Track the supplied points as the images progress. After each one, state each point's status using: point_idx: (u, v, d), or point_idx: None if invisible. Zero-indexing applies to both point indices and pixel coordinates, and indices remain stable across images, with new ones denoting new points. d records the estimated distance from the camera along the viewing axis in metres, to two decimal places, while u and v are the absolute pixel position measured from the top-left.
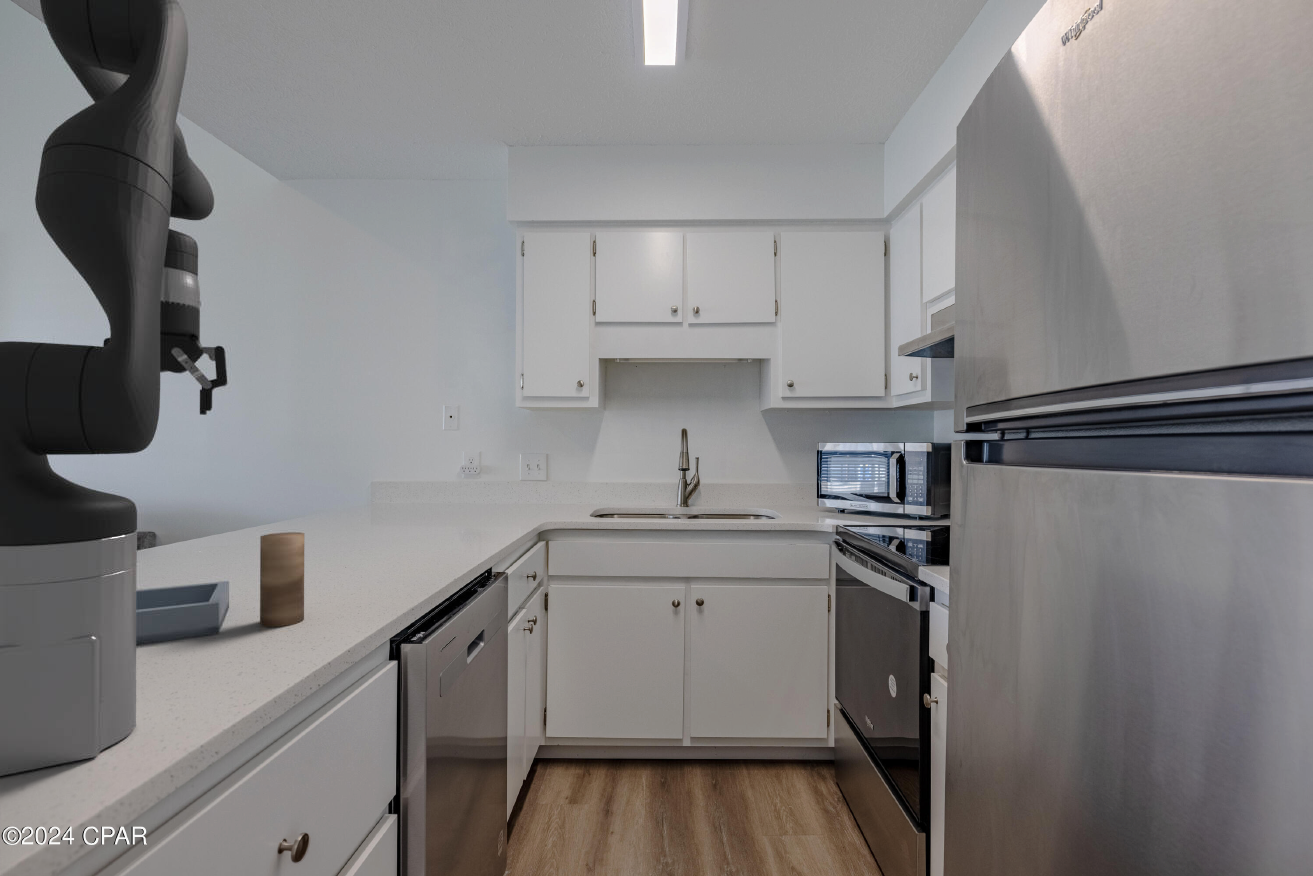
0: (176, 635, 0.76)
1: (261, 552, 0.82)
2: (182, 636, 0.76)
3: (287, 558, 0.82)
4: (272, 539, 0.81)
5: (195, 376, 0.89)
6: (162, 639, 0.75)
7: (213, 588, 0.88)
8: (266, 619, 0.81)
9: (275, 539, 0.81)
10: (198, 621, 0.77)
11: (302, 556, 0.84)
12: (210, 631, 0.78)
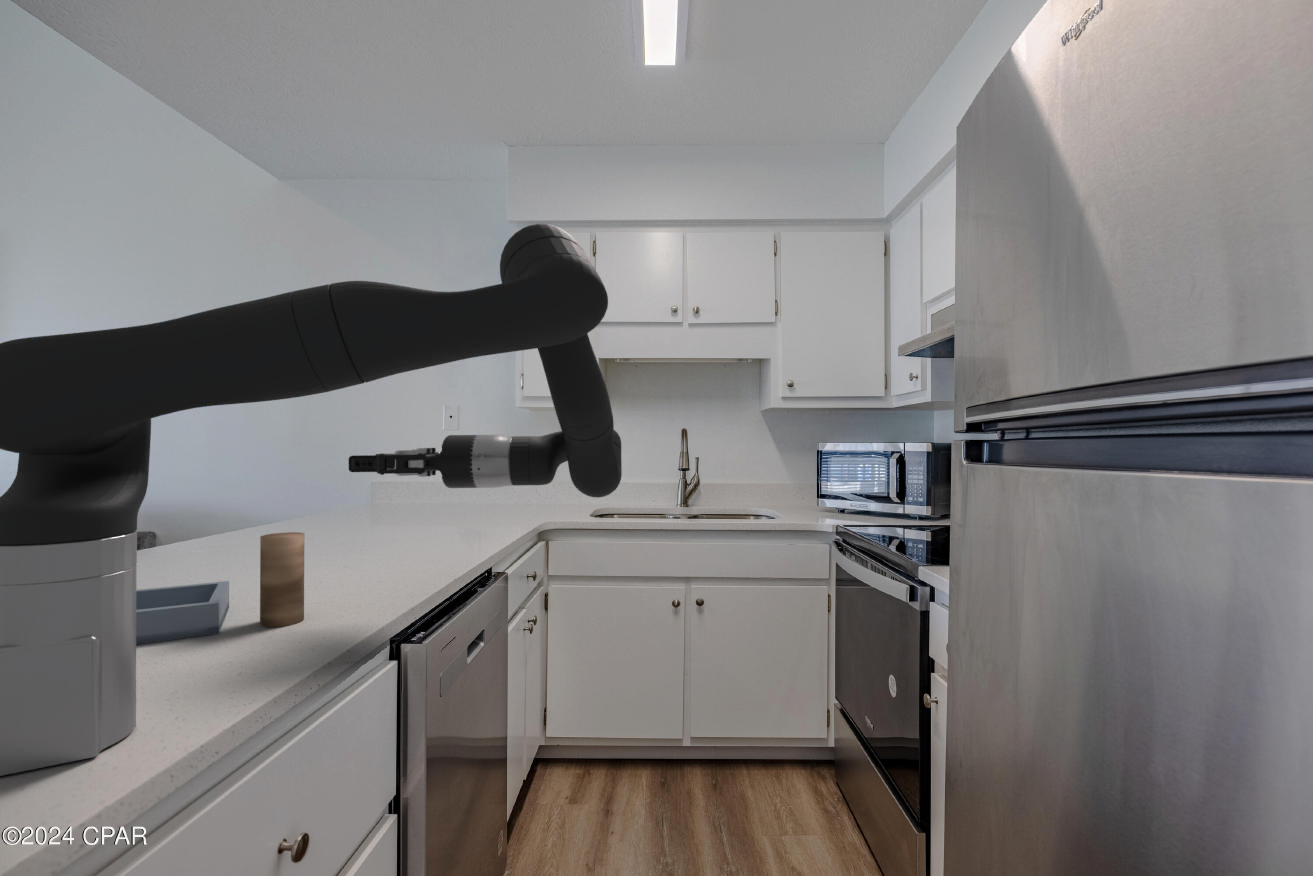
0: (176, 635, 0.76)
1: (261, 552, 0.82)
2: (182, 636, 0.76)
3: (287, 558, 0.82)
4: (272, 539, 0.81)
5: None
6: (162, 639, 0.75)
7: (213, 588, 0.88)
8: (266, 619, 0.81)
9: (275, 539, 0.81)
10: (198, 621, 0.77)
11: (302, 556, 0.84)
12: (210, 631, 0.78)
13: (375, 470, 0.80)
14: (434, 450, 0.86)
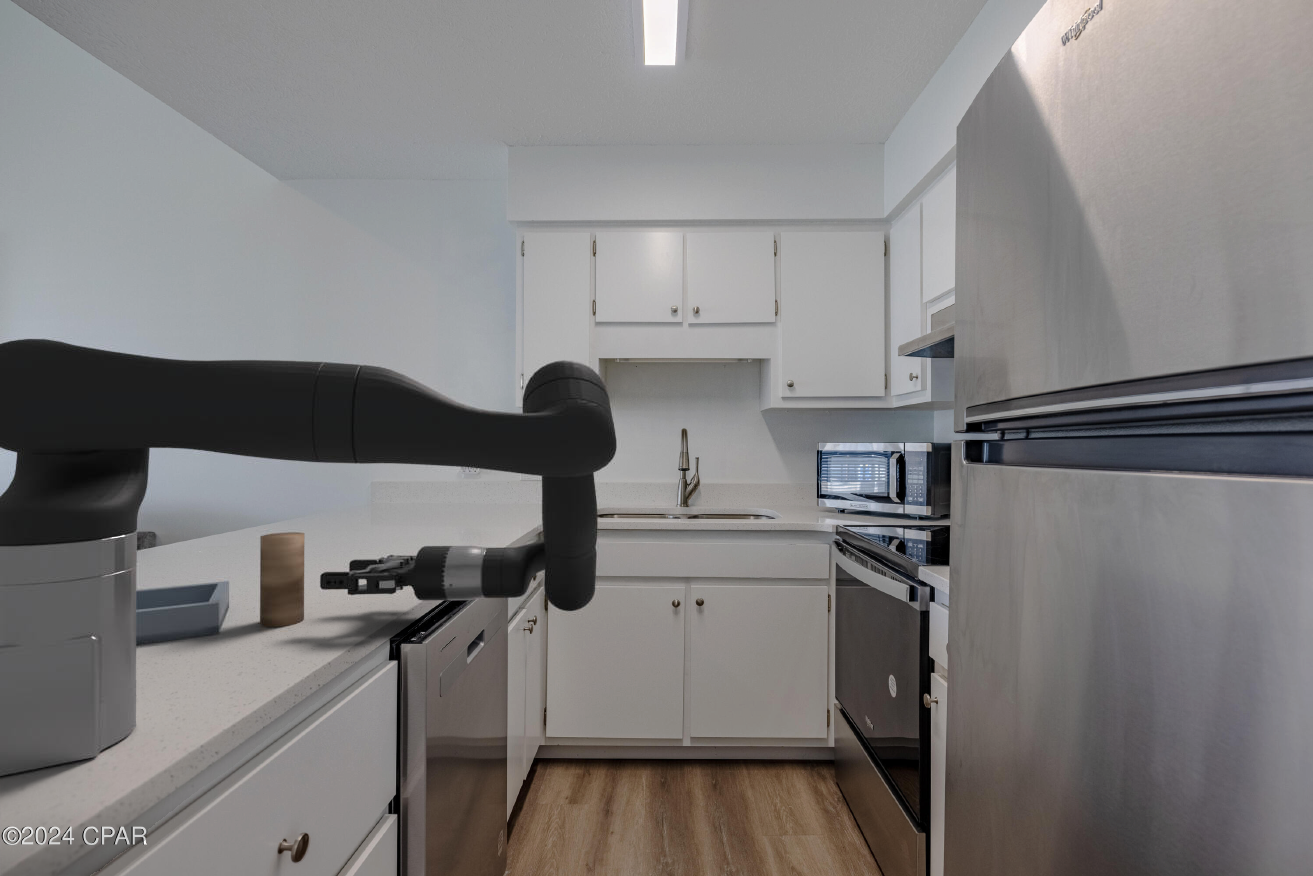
0: (176, 635, 0.76)
1: (261, 552, 0.82)
2: (182, 636, 0.76)
3: (287, 558, 0.82)
4: (272, 539, 0.81)
5: None
6: (162, 639, 0.75)
7: (213, 588, 0.88)
8: (266, 619, 0.81)
9: (275, 539, 0.81)
10: (198, 621, 0.77)
11: (302, 556, 0.84)
12: (210, 631, 0.78)
13: (346, 587, 0.80)
14: (408, 560, 0.86)
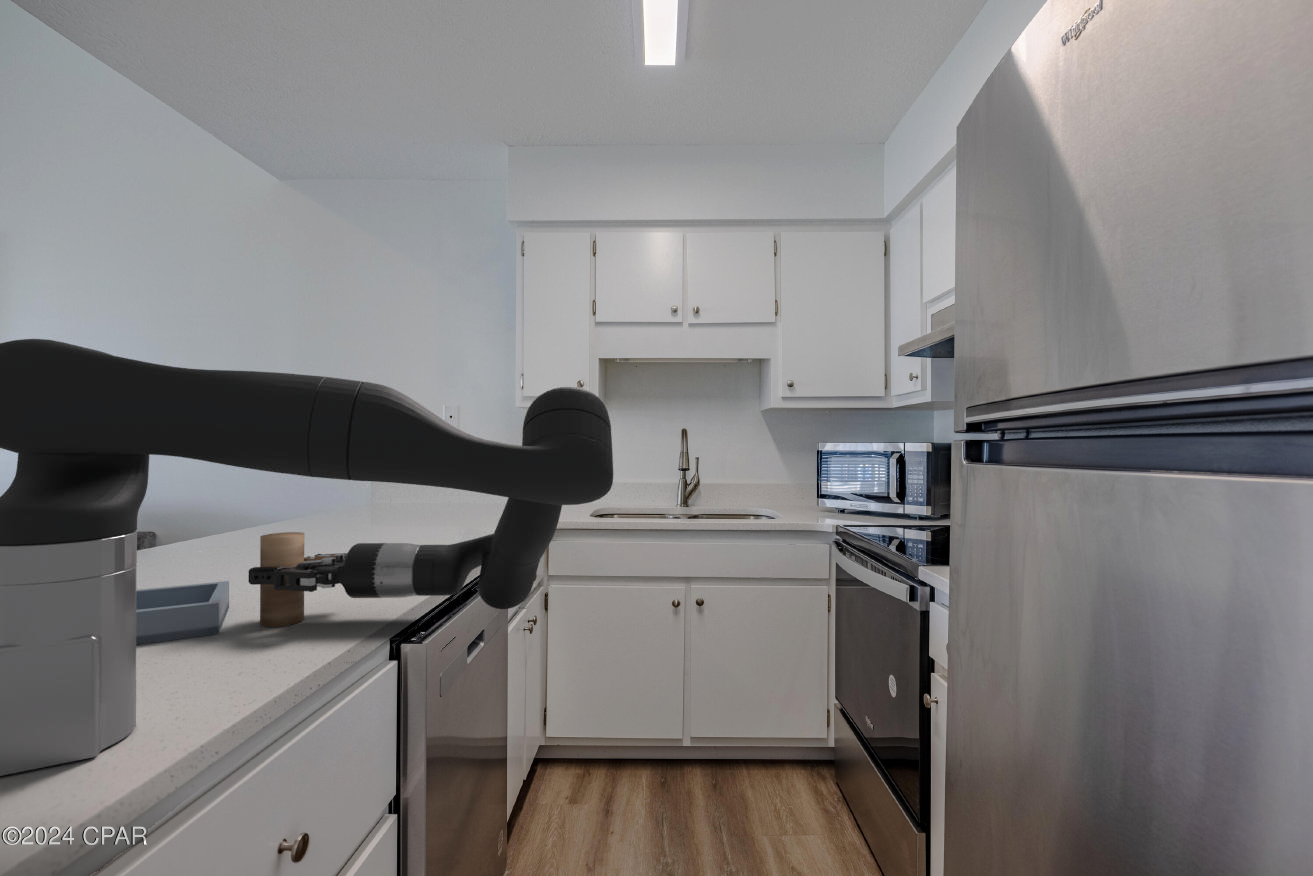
0: (176, 635, 0.76)
1: (261, 552, 0.82)
2: (182, 636, 0.76)
3: (287, 558, 0.82)
4: (272, 539, 0.81)
5: None
6: (162, 639, 0.75)
7: (213, 588, 0.88)
8: (266, 619, 0.81)
9: (275, 539, 0.81)
10: (198, 621, 0.77)
11: (302, 556, 0.84)
12: (210, 631, 0.78)
13: None
14: (343, 557, 0.85)
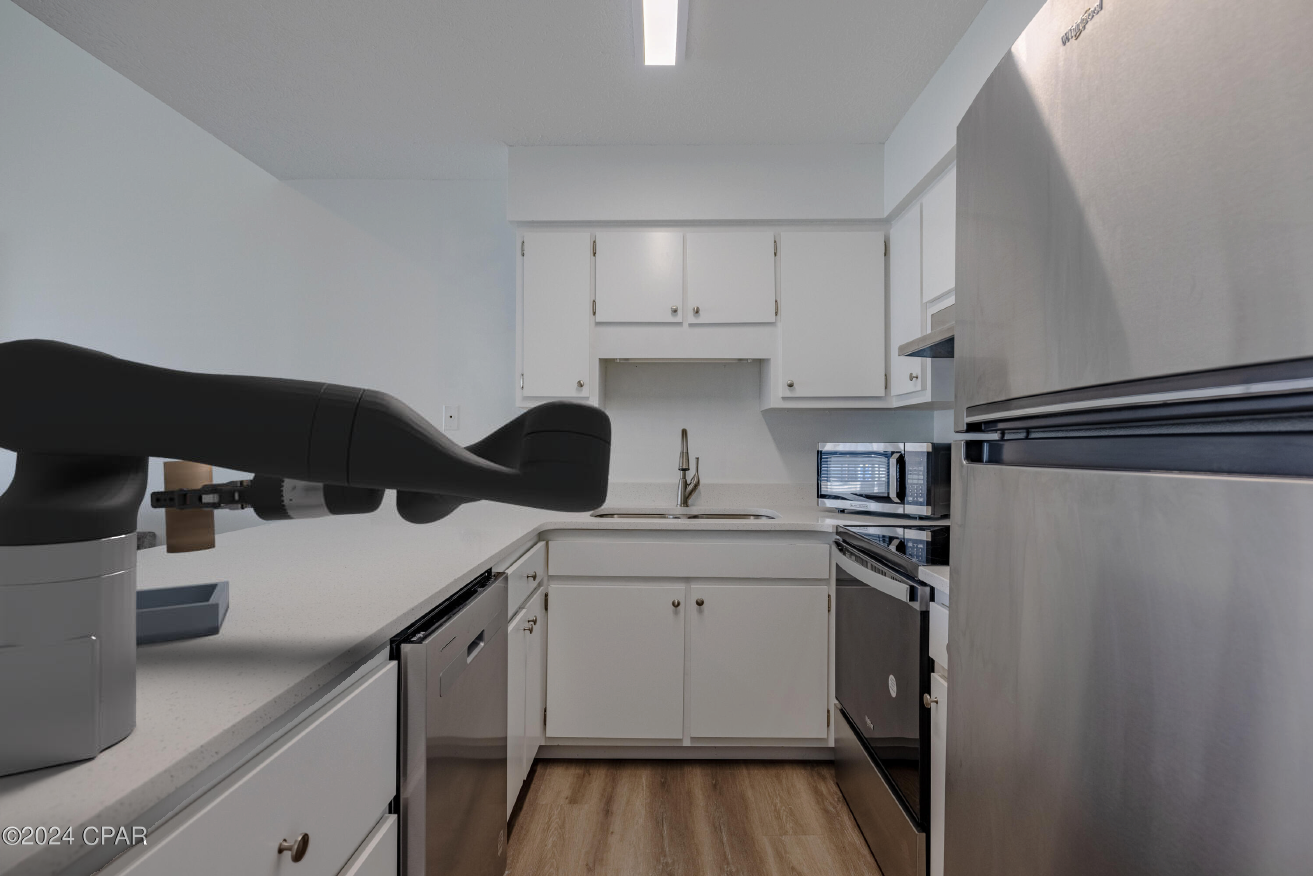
0: (176, 635, 0.76)
1: (164, 476, 0.79)
2: (182, 636, 0.76)
3: (192, 481, 0.79)
4: (175, 462, 0.79)
5: None
6: (162, 639, 0.75)
7: (213, 588, 0.88)
8: (172, 545, 0.78)
9: (178, 462, 0.79)
10: (198, 621, 0.77)
11: (210, 481, 0.82)
12: (210, 631, 0.78)
13: None
14: None
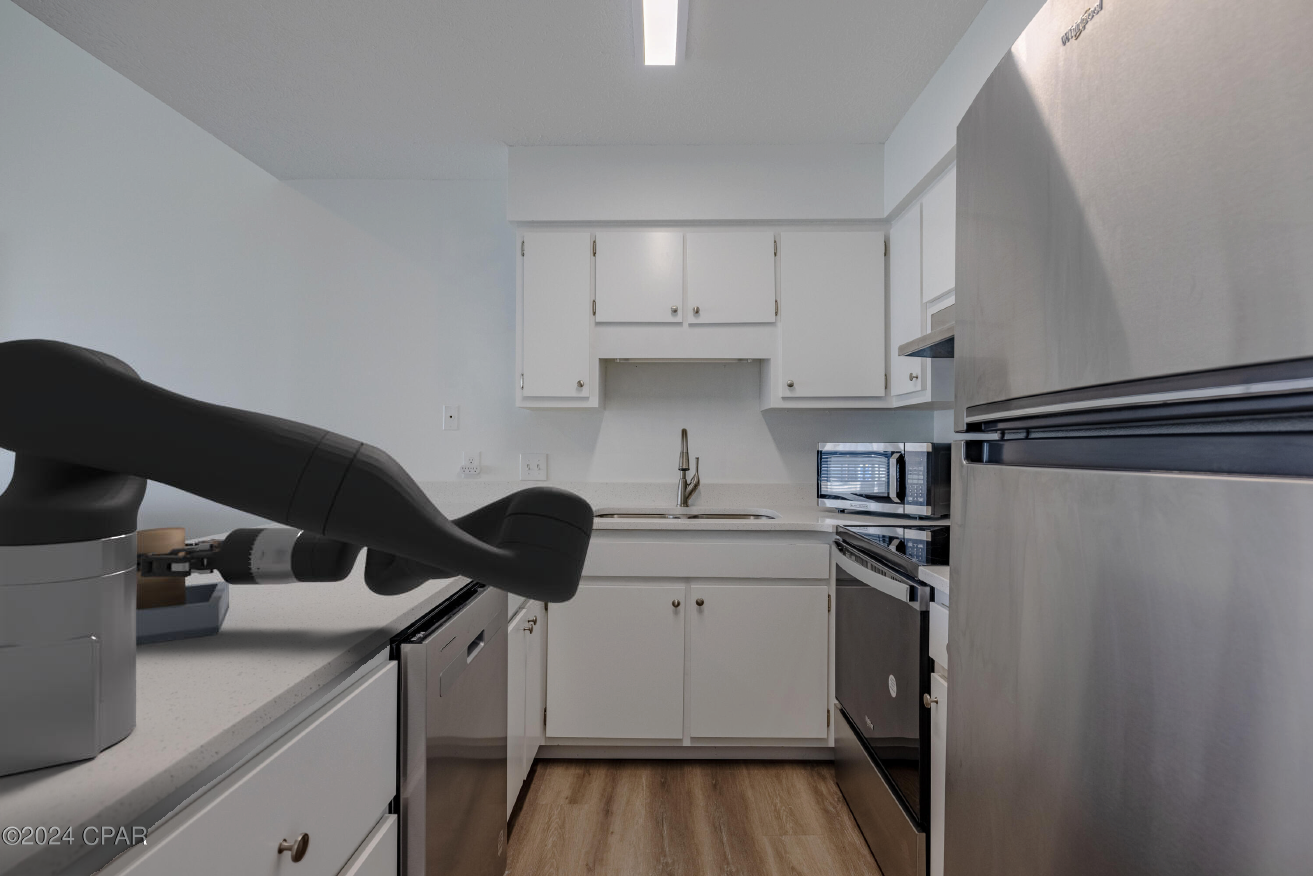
0: (176, 635, 0.76)
1: None
2: (182, 636, 0.76)
3: None
4: (145, 534, 0.78)
5: None
6: (162, 639, 0.75)
7: (213, 588, 0.88)
8: None
9: (148, 534, 0.78)
10: (198, 621, 0.77)
11: (181, 552, 0.81)
12: (210, 631, 0.78)
13: None
14: None
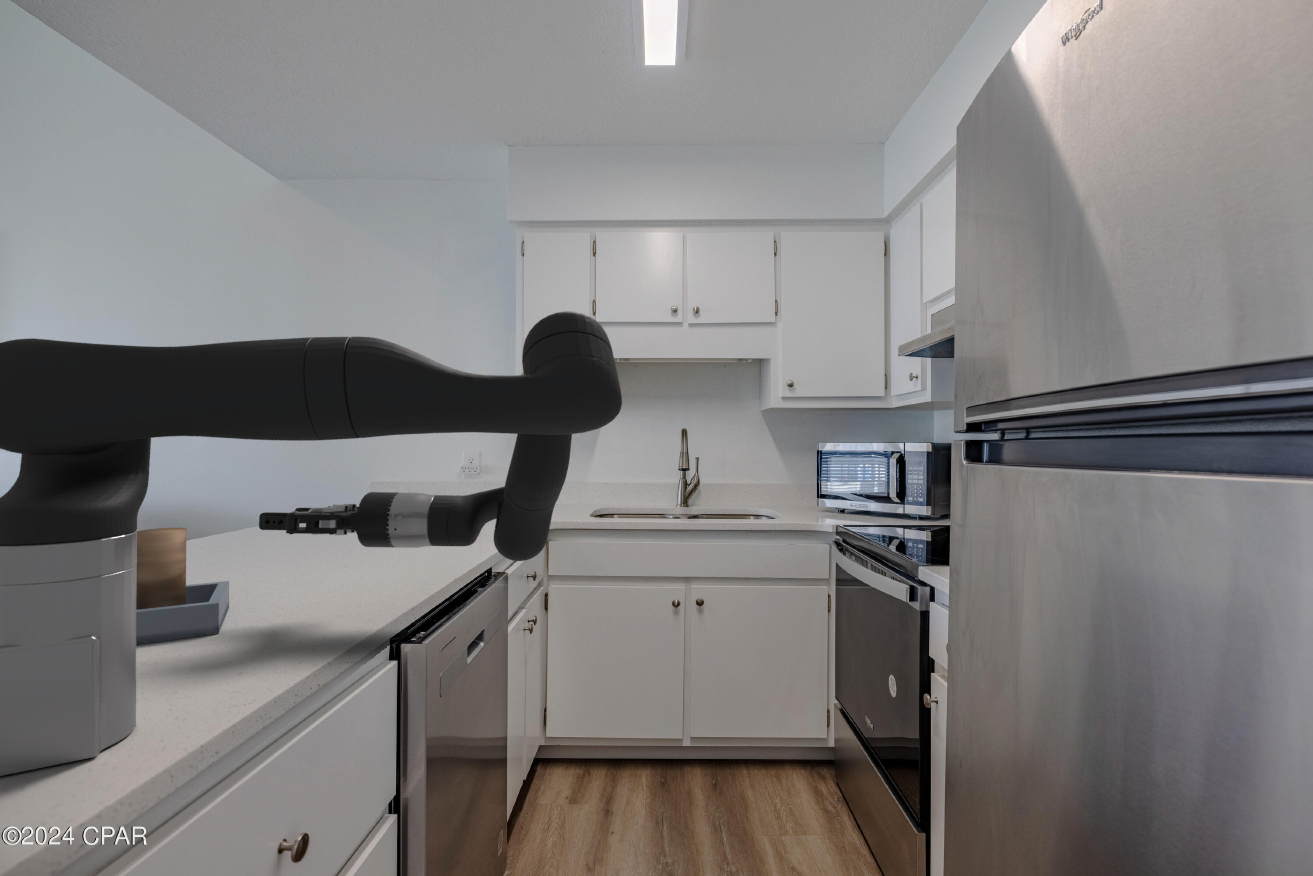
0: (176, 635, 0.76)
1: None
2: (182, 636, 0.76)
3: (163, 554, 0.79)
4: (147, 534, 0.78)
5: None
6: (162, 639, 0.75)
7: (213, 588, 0.88)
8: None
9: (150, 534, 0.78)
10: (198, 621, 0.77)
11: (182, 552, 0.81)
12: (210, 631, 0.78)
13: None
14: (354, 507, 0.84)
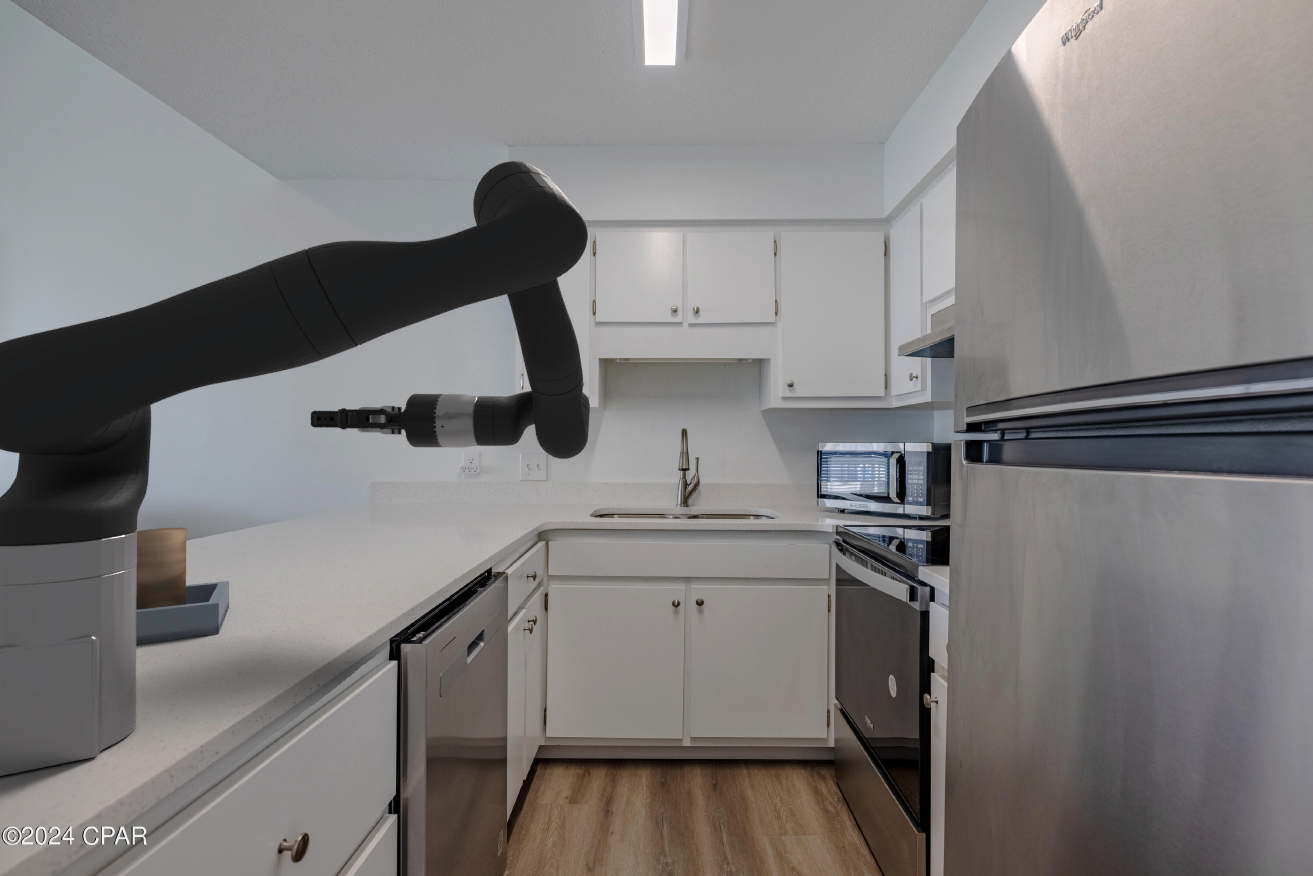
0: (176, 635, 0.76)
1: None
2: (182, 636, 0.76)
3: (163, 554, 0.79)
4: (147, 534, 0.78)
5: None
6: (162, 639, 0.75)
7: (213, 588, 0.88)
8: None
9: (150, 534, 0.78)
10: (198, 621, 0.77)
11: (182, 552, 0.81)
12: (210, 631, 0.78)
13: (337, 426, 0.79)
14: (400, 409, 0.85)
